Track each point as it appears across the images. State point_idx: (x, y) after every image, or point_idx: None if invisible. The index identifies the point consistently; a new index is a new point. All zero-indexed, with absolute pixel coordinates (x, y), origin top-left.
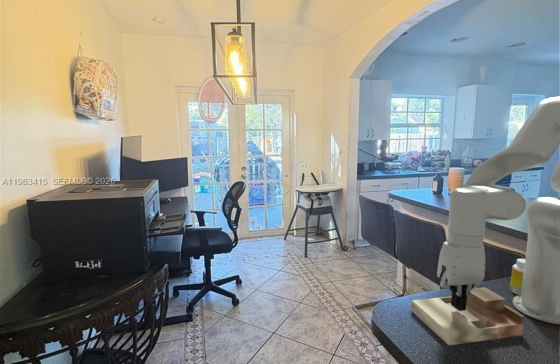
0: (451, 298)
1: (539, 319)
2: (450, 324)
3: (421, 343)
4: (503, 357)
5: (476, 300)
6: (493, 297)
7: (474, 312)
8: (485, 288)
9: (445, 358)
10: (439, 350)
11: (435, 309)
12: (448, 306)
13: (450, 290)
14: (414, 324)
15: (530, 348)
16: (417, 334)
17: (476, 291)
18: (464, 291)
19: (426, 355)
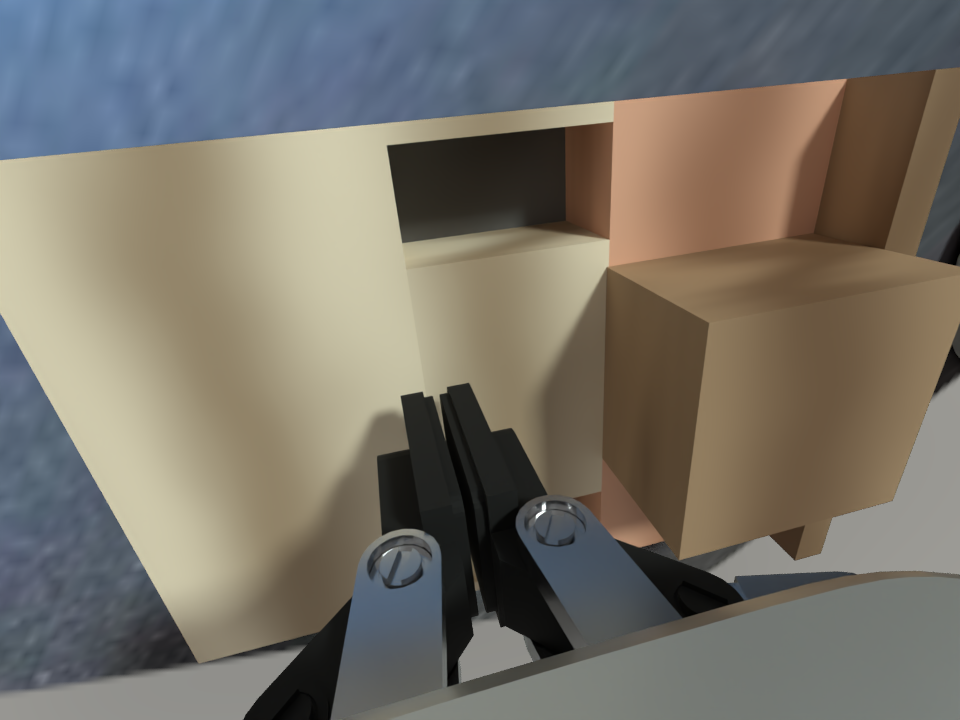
0: (379, 489)
1: (953, 339)
2: (261, 575)
3: (20, 588)
4: (481, 612)
5: (659, 454)
6: (826, 485)
7: (578, 414)
8: (953, 300)
9: (152, 667)
10: (139, 623)
11: (217, 384)
12: (401, 325)
13: (367, 562)
14: (9, 395)
15: (660, 543)
16: (9, 510)
17: (786, 377)
18: (529, 639)
19: (29, 668)
